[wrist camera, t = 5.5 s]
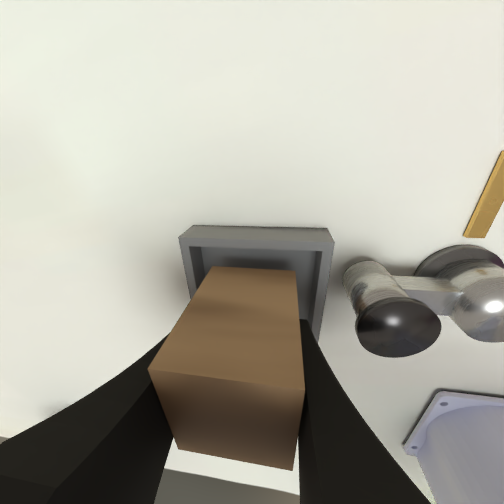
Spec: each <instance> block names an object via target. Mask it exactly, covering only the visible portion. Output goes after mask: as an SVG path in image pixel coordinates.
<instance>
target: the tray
mask: <svg viewBox="0 0 504 504" xmlns="http://www.w3.org/2000/svg"><path fill="white" fill-rule="evenodd" d="M178 238H179V243H180V248H181V253H182V258H183V263H184V268H185V273H186V278H187V283H188V288H189V293H190V298H191V299H192V298H193V296H194V294H195V293H196V291H197V290H198V288H199V286H200V285H201V283H202V282H203V280H204V278H205V277H206V275H207V274H208V272H209V271H210V269H211V267H212V266H220V267H238V268H255V269H273V270H290V271H295V274H296V286H297V298H298V310H299V319H307V320H308V321H309V324H310V327H311V330H312V332H313V335H314V337H315V339H316V341H317V343H318V340H319V334H320V328H321V322H322V316H323V310H324V303H325V297H326V291H327V285H328V279H329V273H330V267H331V261H332V255H333V249H334V243H335V242H334V240H333V238H332V237H331V235H330V233H329V231H328V229H327V228H292V227H248V226H204V225H193V226H192V227H191V228H189V229H188V230H187V231H186V232H184V233H183V234H182V235H181V236H179V237H178Z"/></svg>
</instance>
